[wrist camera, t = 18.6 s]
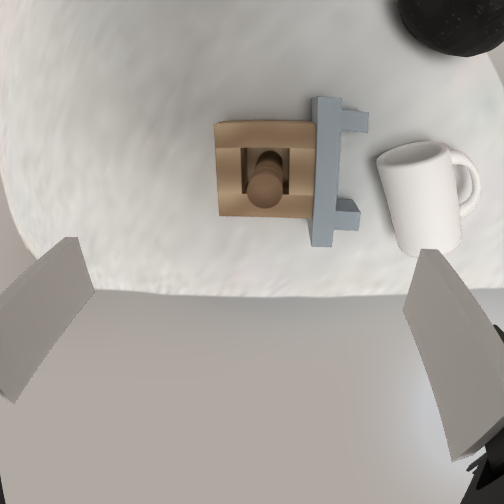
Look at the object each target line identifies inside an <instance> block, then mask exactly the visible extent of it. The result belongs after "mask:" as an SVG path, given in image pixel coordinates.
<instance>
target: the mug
mask: <svg viewBox="0 0 504 504" xmlns="http://www.w3.org/2000/svg"><path fill="white" fill-rule="evenodd" d="M453 164H460V165H464V166H466V167H467V168H468V170H469V172H470V175H471V179H472V193H471V195H470V197H469V198H468V199H467V200H466V201H464V202H463V203H461V204H459V200H458V193H457V187H456V181H455V175H454V170H453ZM376 166H377V169H378V172H379V175H380V178H381V182H382V185H383V189H384V192H385V196H386V199H387V203H388V207H389V211H390V215H391V218H392V223H393V227H394V231H395V235H396V240H397V244H398V247H399V249H400V250H401V251H402V252H404V253H405V254H407V255H409V256H412V257H416V258H418V257H419V253H420V250H421V249H438V250H439V251H440V252H441V254H442V255H444V254H447V253H449V252H450V251H452V250H453V249H455V248H456V247H457V246H458V244H459V243H460V241H461V239H462V225H461V218H463V217H465V216H466V215H468V214H469V213H470V212H471V211H472V210H473V209H474V208H475V206H476V205H477V203H478V201H479V198H480V195H481V179H480V175H479V172H478V170H477V168H476V166H475V164H474V163H473V161H472V160H471V159H470V158H469V157H468V156H467V155H466V154H464V153H462V152H460V151H456V150H449V148H448V146H447V145H446V144H444V143H441V142H436V141H421V142H414V143H409V144H405V145H401V146H398V147H395V148H393V149H390V150H388V151H386V152H384V153H383V154H381V155H380V156H379V157H378V158H377V160H376Z"/></svg>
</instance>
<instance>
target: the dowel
mask: <svg viewBox="0 0 504 504" xmlns="http://www.w3.org/2000/svg"><path fill="white" fill-rule="evenodd" d="M282 185H283V161H282V158H281V156H280V155H279V154H278V153H277V152H275V151H265V152H263V153H262V154H261V155H260V156H259V158H258V161H257V163H256V166H255V168H254V171H253V174H252V176H251V179H250V181H249V184H248V187H247V196H248V199H249V200H250V202H251V203H252V204H253V205H255V206H256V207H259V208H263V209H267V208H271V207H274V206H275V205H277V204H278V203H279V201H280V200H281V198H282Z"/></svg>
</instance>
